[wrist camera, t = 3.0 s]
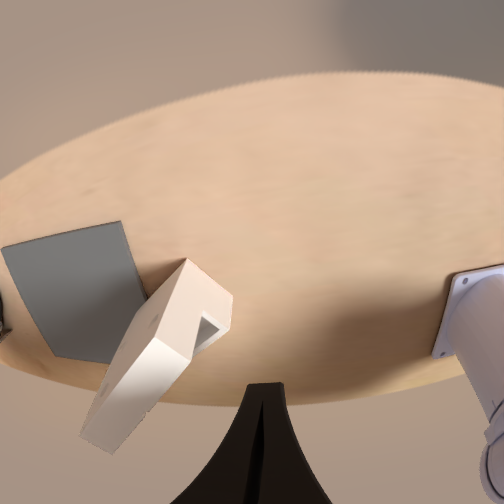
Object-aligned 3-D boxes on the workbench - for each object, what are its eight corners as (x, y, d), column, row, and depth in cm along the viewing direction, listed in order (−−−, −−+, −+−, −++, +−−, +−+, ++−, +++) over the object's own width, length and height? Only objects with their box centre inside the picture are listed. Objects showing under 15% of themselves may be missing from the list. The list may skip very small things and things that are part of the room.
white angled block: (98, 362, 17) (78, 435, 9) (181, 255, 19) (208, 269, 11) (139, 389, 18) (144, 469, 10) (221, 288, 20) (273, 322, 12)
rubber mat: (120, 220, 16) (117, 222, 15) (175, 364, 21) (174, 368, 21) (3, 247, 18) (0, 249, 17) (57, 353, 23) (55, 356, 22)
